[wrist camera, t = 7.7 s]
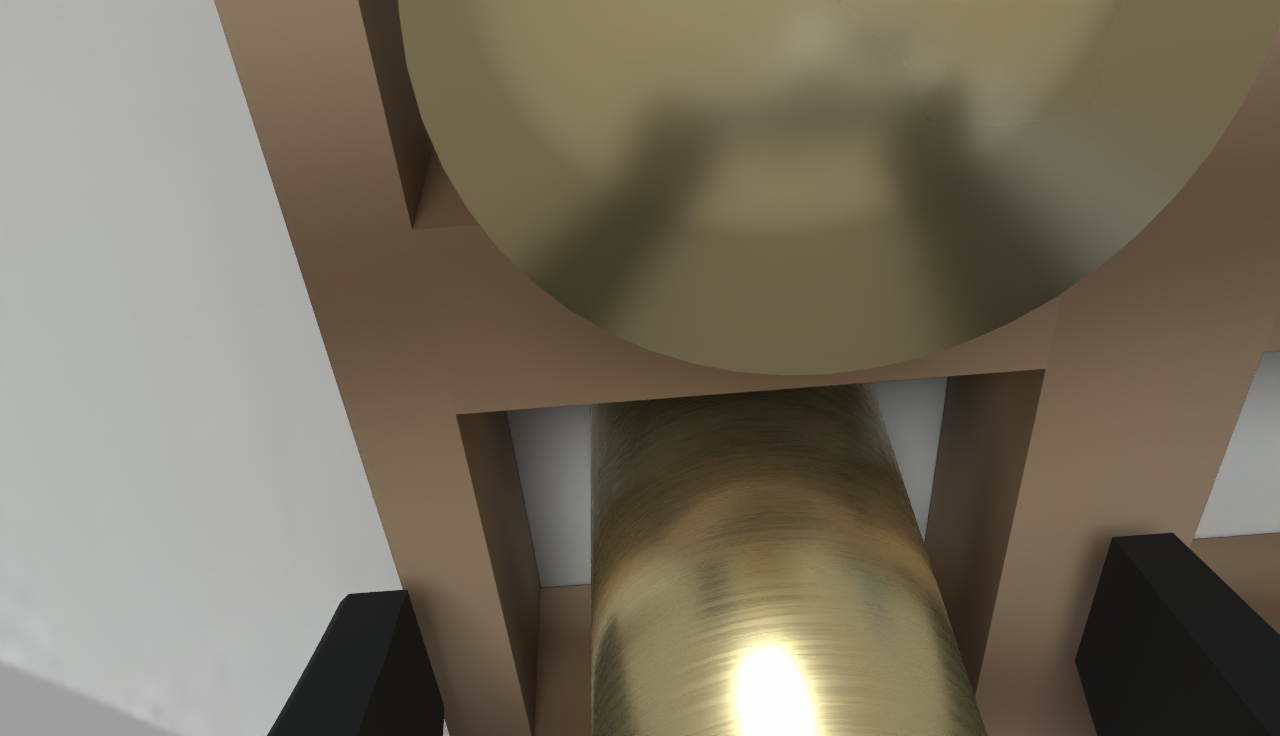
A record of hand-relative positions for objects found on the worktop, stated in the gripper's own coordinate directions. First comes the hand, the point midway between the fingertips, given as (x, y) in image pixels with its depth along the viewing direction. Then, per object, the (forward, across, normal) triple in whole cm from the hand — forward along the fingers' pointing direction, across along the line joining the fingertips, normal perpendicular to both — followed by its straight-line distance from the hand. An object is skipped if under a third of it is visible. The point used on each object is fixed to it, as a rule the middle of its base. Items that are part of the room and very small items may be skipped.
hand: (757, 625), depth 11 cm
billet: (+3, 0, -8) cm, 8 cm away
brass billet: (+3, 0, 0) cm, 3 cm away
